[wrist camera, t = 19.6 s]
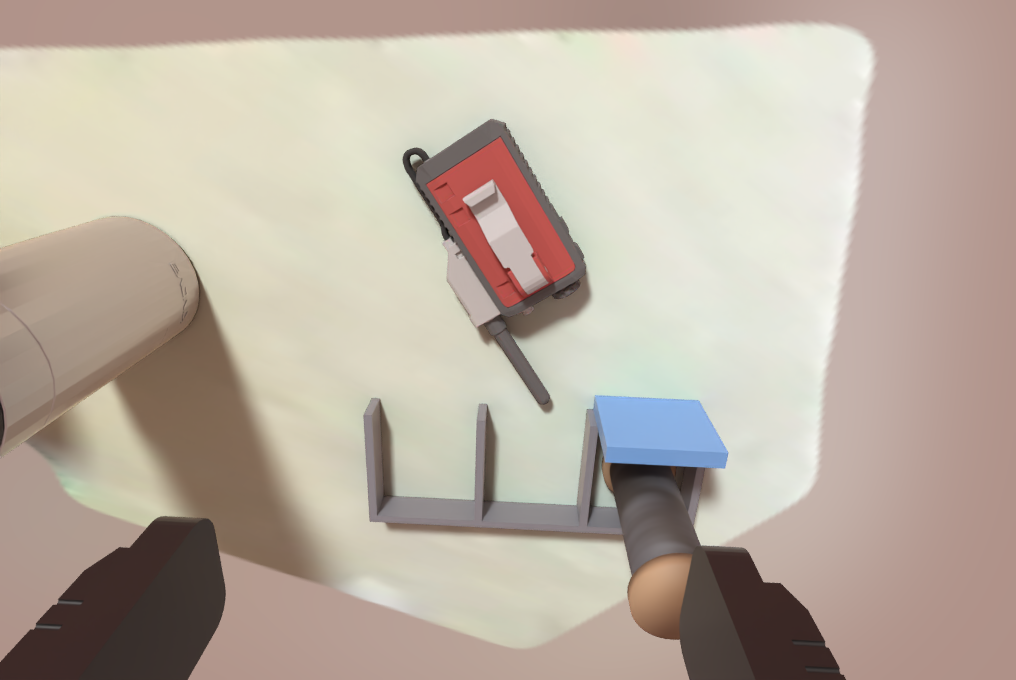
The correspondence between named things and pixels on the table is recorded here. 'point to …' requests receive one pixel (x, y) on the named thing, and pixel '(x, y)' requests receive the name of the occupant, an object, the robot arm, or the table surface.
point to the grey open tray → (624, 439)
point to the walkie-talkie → (498, 234)
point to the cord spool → (653, 542)
